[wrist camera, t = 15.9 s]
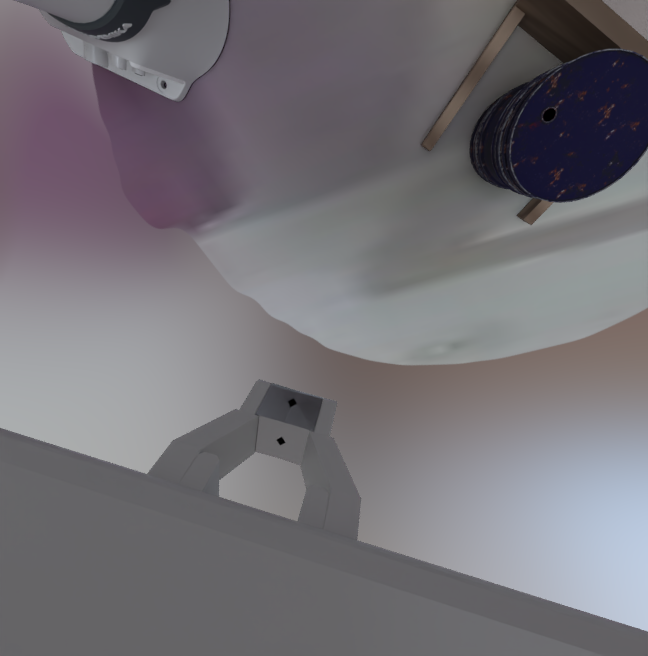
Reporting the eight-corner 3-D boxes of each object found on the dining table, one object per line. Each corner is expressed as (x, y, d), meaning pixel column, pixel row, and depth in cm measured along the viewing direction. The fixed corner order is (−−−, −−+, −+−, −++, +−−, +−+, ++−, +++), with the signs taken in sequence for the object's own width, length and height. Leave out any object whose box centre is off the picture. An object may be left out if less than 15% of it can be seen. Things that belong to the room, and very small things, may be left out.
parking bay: (523, 221, 39) (551, 235, 33) (420, 144, 38) (426, 143, 31) (637, 102, 32) (703, 89, 25) (516, 0, 30) (552, -43, 24)
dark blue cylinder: (587, 113, 33) (706, 90, 21) (520, 201, 39) (582, 225, 26) (508, 68, 33) (581, 15, 20) (450, 162, 38) (479, 168, 25)
